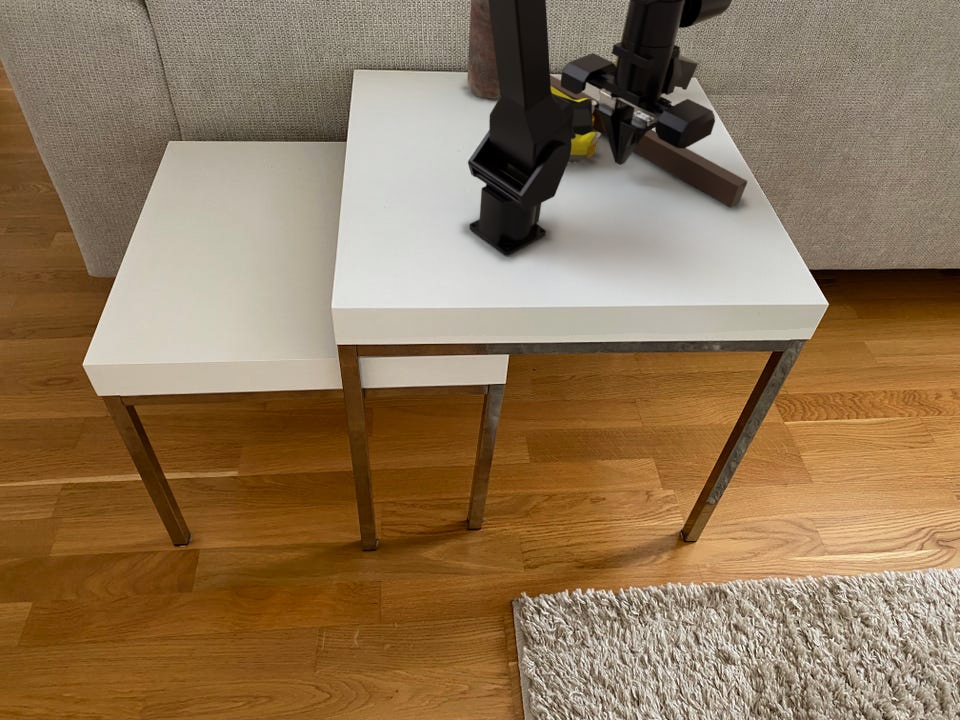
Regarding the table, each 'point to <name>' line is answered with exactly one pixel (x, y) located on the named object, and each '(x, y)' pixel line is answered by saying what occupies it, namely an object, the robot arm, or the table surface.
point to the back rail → (677, 160)
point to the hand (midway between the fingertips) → (620, 163)
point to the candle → (482, 52)
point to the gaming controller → (581, 128)
